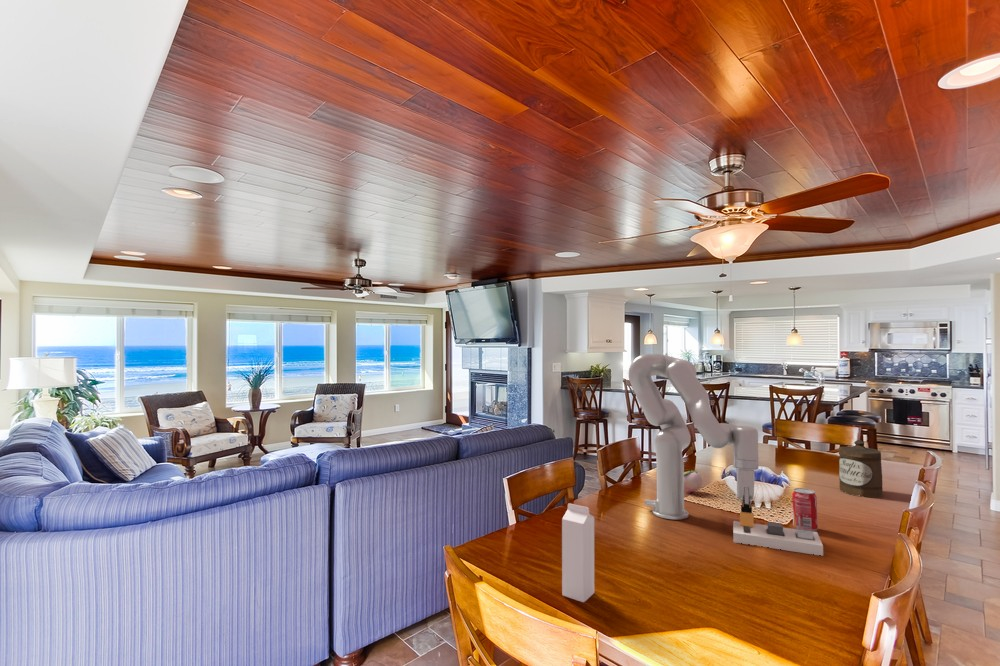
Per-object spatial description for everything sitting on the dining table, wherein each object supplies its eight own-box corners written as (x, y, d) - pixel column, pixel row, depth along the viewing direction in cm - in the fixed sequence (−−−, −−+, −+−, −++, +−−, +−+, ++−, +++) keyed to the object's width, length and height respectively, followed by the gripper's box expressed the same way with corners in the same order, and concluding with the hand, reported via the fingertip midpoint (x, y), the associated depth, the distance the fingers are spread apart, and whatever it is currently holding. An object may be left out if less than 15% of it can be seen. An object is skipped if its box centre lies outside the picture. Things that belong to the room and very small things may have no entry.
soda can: (821, 533, 164) (820, 494, 164) (797, 532, 166) (796, 492, 166) (812, 526, 171) (811, 488, 171) (789, 524, 172) (789, 487, 173)
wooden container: (831, 489, 215) (831, 438, 215) (852, 485, 221) (851, 436, 222) (869, 499, 201) (868, 445, 202) (890, 495, 208) (889, 442, 208)
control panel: (733, 542, 157) (733, 532, 157) (733, 529, 168) (733, 520, 168) (823, 556, 147) (823, 545, 147) (817, 541, 158) (816, 532, 158)
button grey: (797, 541, 153) (797, 529, 153) (796, 536, 156) (796, 525, 157) (813, 543, 151) (813, 531, 151) (811, 538, 155) (811, 527, 155)
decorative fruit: (695, 497, 204) (695, 472, 204) (676, 492, 210) (676, 469, 210) (706, 492, 210) (706, 469, 210) (687, 488, 216) (687, 465, 216)
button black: (768, 536, 156) (768, 525, 156) (767, 532, 160) (767, 521, 160) (783, 538, 155) (782, 527, 155) (781, 534, 158) (781, 523, 158)
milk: (573, 586, 128) (573, 499, 129) (595, 593, 124) (594, 504, 125) (561, 595, 123) (561, 505, 124) (583, 603, 119) (583, 510, 120)
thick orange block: (740, 533, 163) (739, 512, 163) (740, 531, 164) (739, 511, 164) (753, 535, 161) (753, 514, 161) (753, 533, 162) (753, 513, 162)
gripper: (733, 457, 176) (734, 510, 176) (733, 467, 163) (734, 523, 162) (757, 459, 173) (757, 513, 173) (759, 469, 159) (760, 527, 159)
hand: (746, 518), depth 167 cm, fingers closed
